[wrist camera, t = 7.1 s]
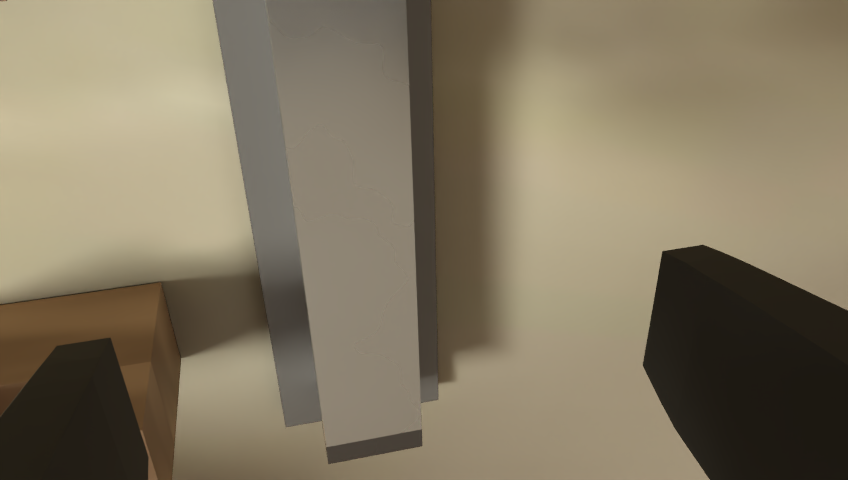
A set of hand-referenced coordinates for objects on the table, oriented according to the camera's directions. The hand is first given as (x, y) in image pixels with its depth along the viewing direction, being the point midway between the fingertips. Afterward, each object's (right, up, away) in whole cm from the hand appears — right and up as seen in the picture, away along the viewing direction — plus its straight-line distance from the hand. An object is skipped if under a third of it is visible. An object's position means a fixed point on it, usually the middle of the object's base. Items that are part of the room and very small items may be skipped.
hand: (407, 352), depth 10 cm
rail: (-2, +4, +7) cm, 8 cm away
